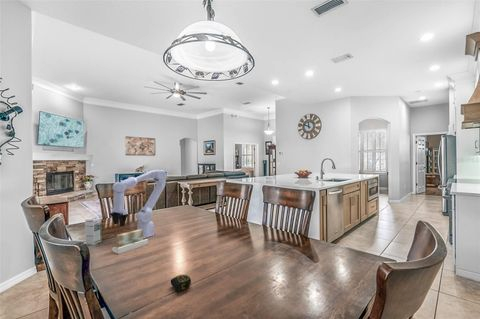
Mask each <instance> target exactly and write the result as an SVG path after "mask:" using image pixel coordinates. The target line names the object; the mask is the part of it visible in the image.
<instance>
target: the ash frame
mask: <svg viewBox="0 0 480 319" xmlns="http://www.w3.org/2000/svg"><path fill="white" fill-rule="evenodd" d="M142 240H144V238H143V229H139V230H137V229H136V230H132V231H128V232H123V233H120V234H119V233H118V234H116V247H117V248H119V247H122V246H125V245H129V244H132V243H133V242H134V243H135V242H139V241H142Z"/></svg>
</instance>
